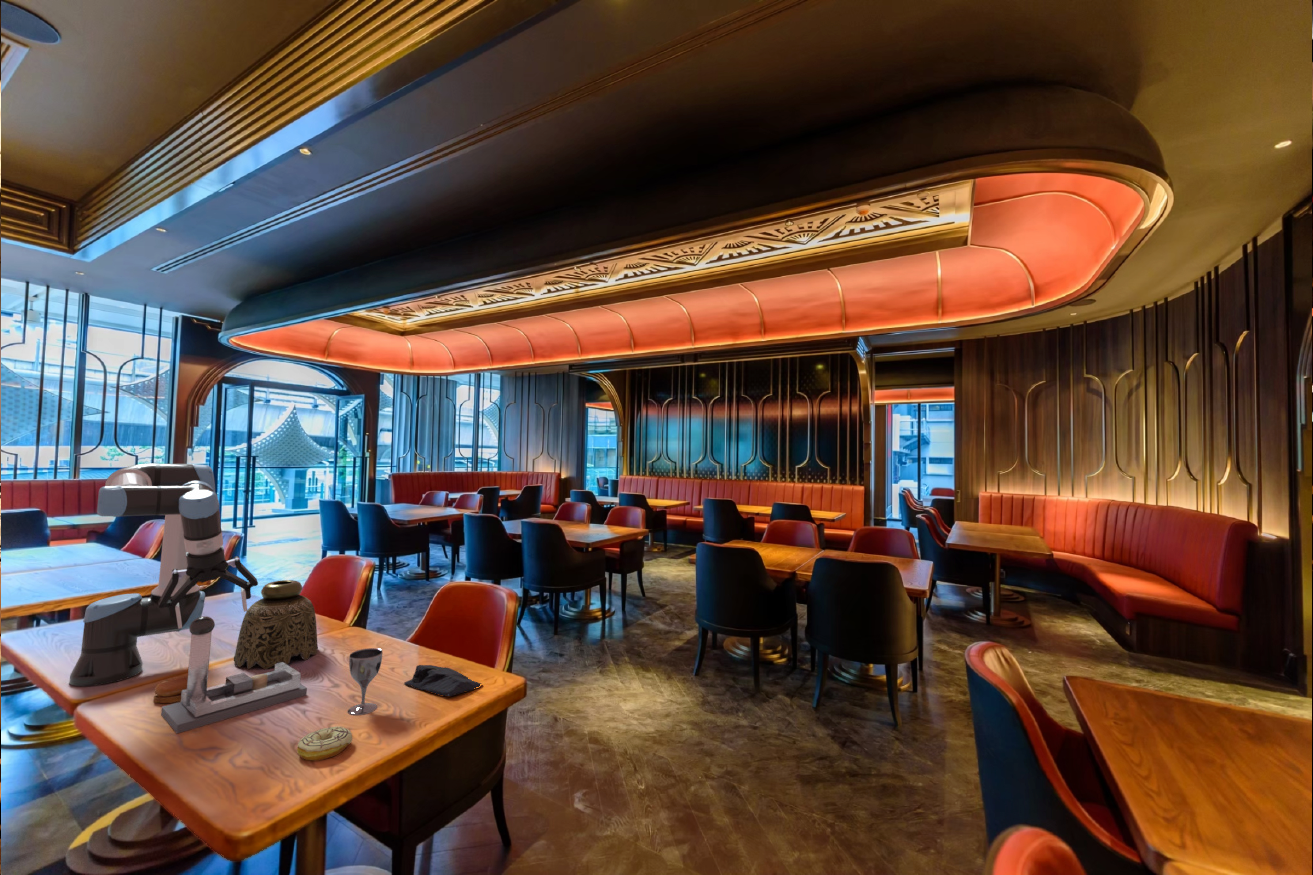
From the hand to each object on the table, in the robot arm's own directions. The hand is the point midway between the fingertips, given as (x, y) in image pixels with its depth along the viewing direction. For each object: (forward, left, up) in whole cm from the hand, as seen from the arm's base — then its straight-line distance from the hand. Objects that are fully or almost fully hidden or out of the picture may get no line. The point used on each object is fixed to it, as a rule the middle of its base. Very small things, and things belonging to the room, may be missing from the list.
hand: (213, 617), depth 142 cm
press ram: (+5, +6, -21) cm, 23 cm away
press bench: (+5, +5, -24) cm, 25 cm away
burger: (-13, -4, -24) cm, 28 cm away
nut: (+5, +10, -22) cm, 24 cm away
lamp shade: (-27, +25, -24) cm, 44 cm away
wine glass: (+33, +25, -24) cm, 48 cm away
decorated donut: (+47, +10, -24) cm, 54 cm away
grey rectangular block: (+5, +5, -22) cm, 23 cm away
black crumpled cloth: (+35, +49, -25) cm, 65 cm away
